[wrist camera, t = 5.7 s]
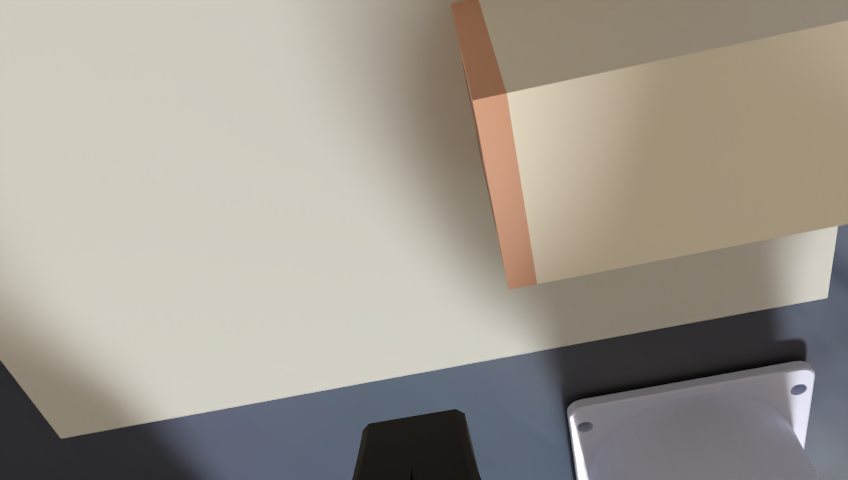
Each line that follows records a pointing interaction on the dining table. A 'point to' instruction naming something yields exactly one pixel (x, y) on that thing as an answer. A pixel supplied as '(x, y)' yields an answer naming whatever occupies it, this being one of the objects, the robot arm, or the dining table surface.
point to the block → (654, 126)
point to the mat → (281, 213)
